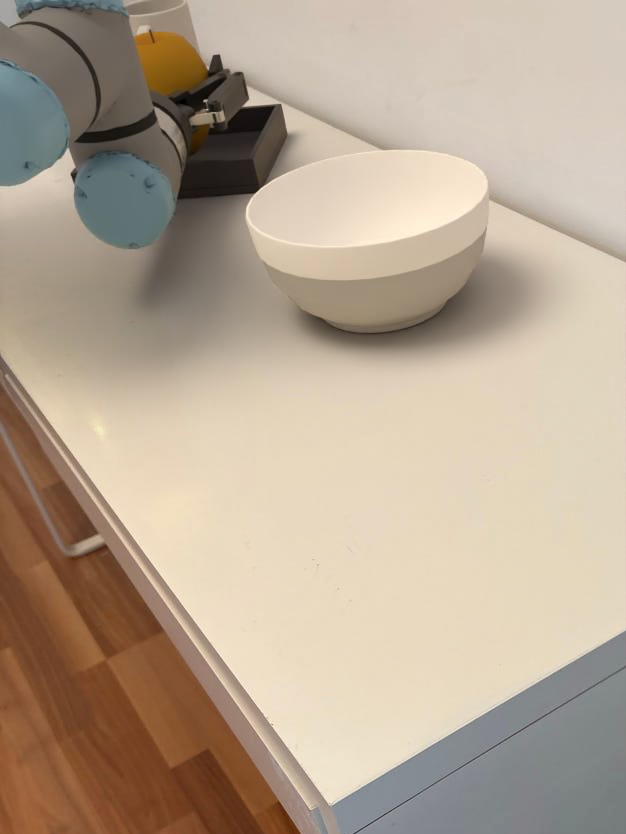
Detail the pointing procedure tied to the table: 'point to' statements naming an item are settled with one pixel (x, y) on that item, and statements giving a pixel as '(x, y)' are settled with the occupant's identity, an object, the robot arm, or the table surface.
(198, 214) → the table surface
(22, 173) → the robot arm
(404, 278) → the bowl
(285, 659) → the table surface
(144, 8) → the mug
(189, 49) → the apple
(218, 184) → the tray
